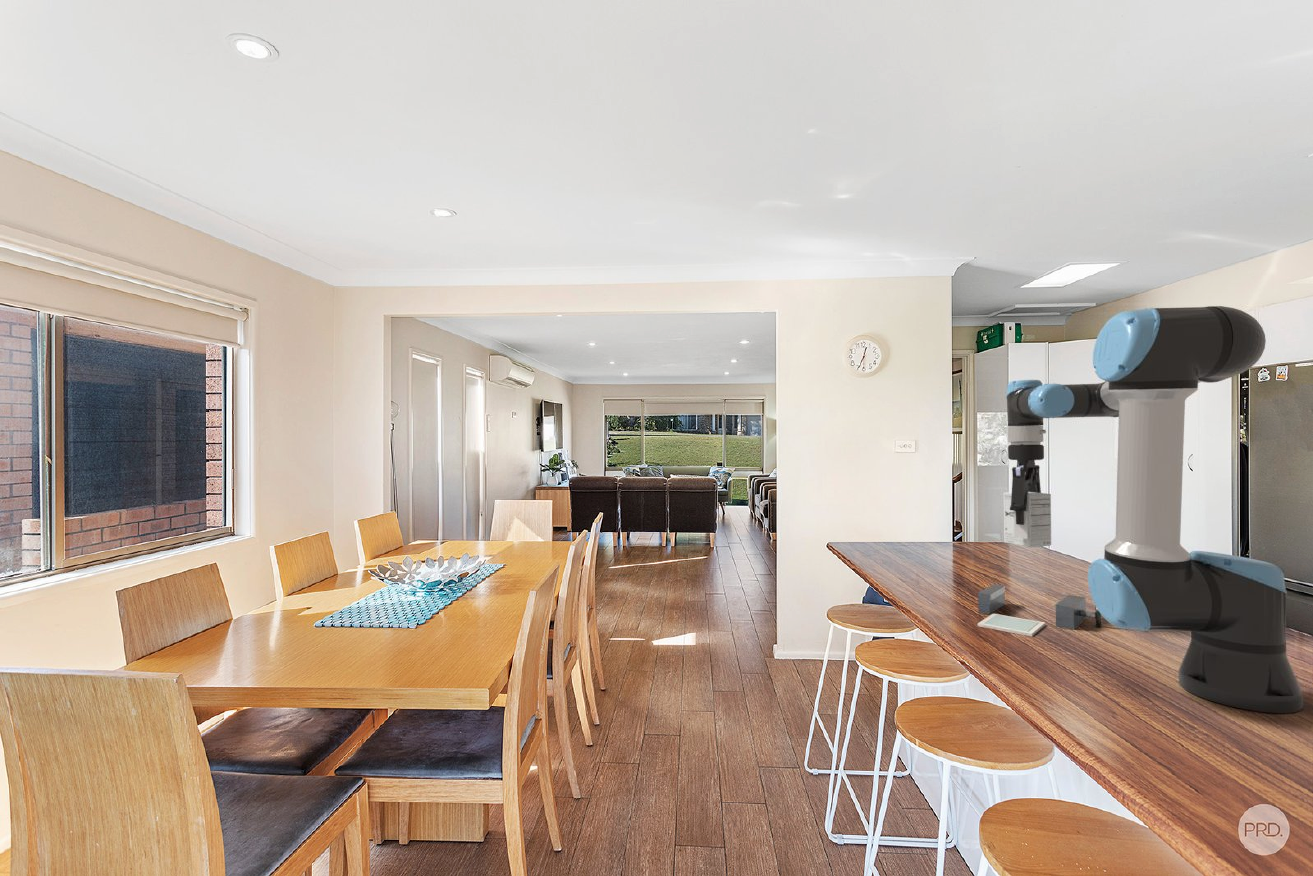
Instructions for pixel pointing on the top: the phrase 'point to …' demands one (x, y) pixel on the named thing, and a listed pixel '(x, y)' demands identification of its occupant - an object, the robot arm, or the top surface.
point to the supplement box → (1030, 520)
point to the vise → (1067, 608)
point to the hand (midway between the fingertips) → (1027, 535)
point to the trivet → (1012, 624)
